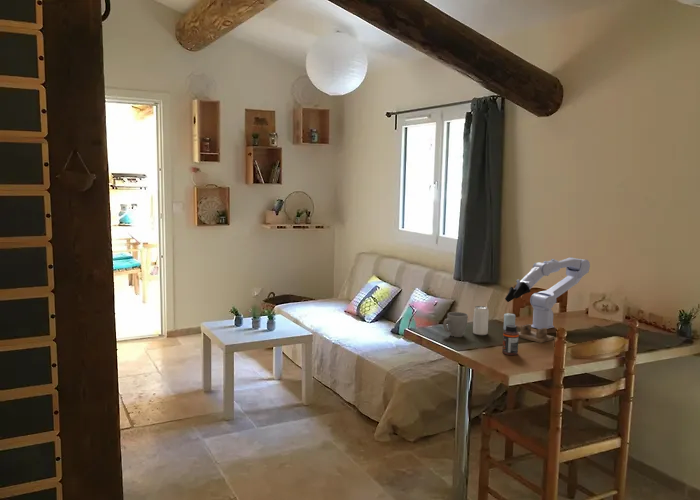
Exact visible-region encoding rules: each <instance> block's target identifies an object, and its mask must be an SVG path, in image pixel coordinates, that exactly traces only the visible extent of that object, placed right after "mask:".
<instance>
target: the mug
mask: <svg viewBox="0 0 700 500" xmlns="http://www.w3.org/2000/svg"><path fill="white" fill-rule="evenodd" d="M446 315H447V316H446V317H447V318H445V319H444V320H443V323H442V326H443V329H444V331H445V332H446V333H449V335H450V336H451V337H453V336H454V337H453V338H462V337H464V334H465V331H466V329H467V326H468V321H469V318H468V317H469V315H468V314H467V313H465V312H461V311H451V312H447V314H446Z"/></svg>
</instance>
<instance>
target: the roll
mask: <svg viewBox="0 0 700 500" xmlns="http://www.w3.org/2000/svg"><path fill="white" fill-rule="evenodd" d="M506 325H515V326H516V314H515V313H504V314H503V331H505V330H506Z"/></svg>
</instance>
